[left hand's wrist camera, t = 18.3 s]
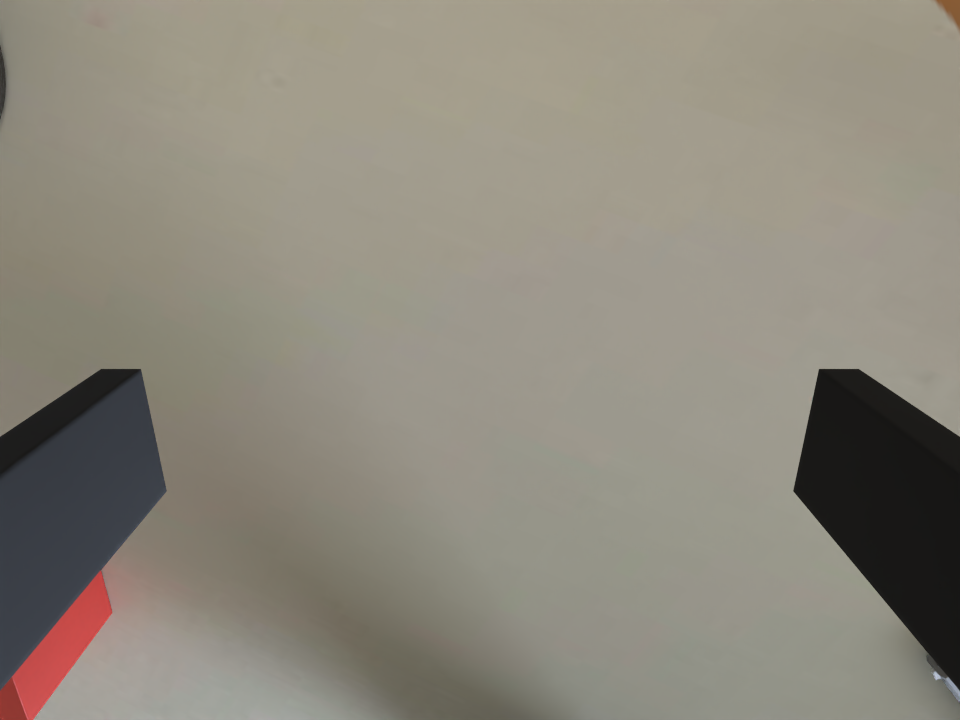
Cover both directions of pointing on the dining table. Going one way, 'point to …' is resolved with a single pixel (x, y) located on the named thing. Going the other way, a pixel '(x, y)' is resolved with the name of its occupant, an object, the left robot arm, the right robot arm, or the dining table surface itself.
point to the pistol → (943, 677)
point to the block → (55, 654)
